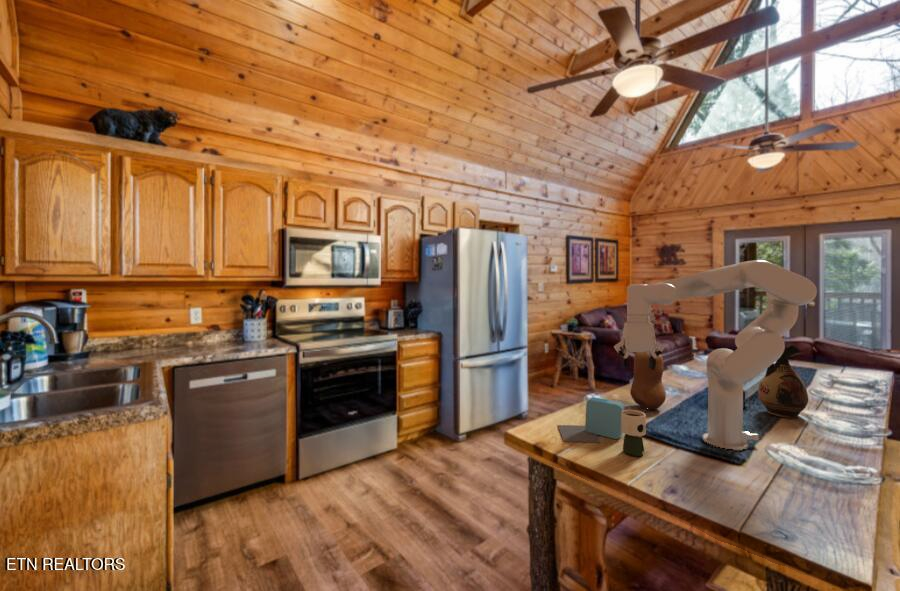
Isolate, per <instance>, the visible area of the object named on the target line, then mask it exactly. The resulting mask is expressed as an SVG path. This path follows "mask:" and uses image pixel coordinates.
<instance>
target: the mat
mask: <svg viewBox="0 0 900 591" xmlns="http://www.w3.org/2000/svg"><path fill="white" fill-rule="evenodd" d="M558 427H559V428H558ZM557 428H558V430H560V431H559V433H560V435H562V436H561V438H562V441H563V440H564V441H565V442H564V441H563V442H564V443H583V442H593V443H594V444H601V441H600V439H599V438H598V435H597V434H593V433H589V432H587V431H586V429H585V425H574V424H573V425H571V424H557ZM566 441H567V442H566ZM593 443H592V444H593Z"/></svg>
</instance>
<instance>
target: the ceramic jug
mask: <svg viewBox="0 0 900 591" xmlns="http://www.w3.org/2000/svg"><path fill="white" fill-rule="evenodd" d="M803 353H804V352H803V351H802V350H801V349H799V348H798V347H797V346H795V345H793V344H789V345H787V346H785V348H784V352H783V354H782V355H781V357H780V358H779V359H778V360H777V361H775V362H774V363H773V364H772V365H770V366H769V367H768V368H767V369H766V370H765V371H766V372H765V375H764V376H763V377H762V379H761V380H760V382H759V385H758V392H757V395H758V399H759V401H760V403H761V404H762V405H763V407H765V408H766V413H768V414H771V415H774V416H776V417H780V418H784V419H785V418H786V419H792V420H793V419H797V418H799V414H800V413H801V412H803V411H804V410H805V409H806V408H807V406H808V403H809V394H808V391H807V387H806V385H805V383H804V382H803V380H802V379H801V377H800V376H799V374H798V372H796V371H795V369H794V367H792V365H791V363H790V361H789V358H791V357H794V356H796V355H797V356H798V355H800V354H803Z"/></svg>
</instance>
